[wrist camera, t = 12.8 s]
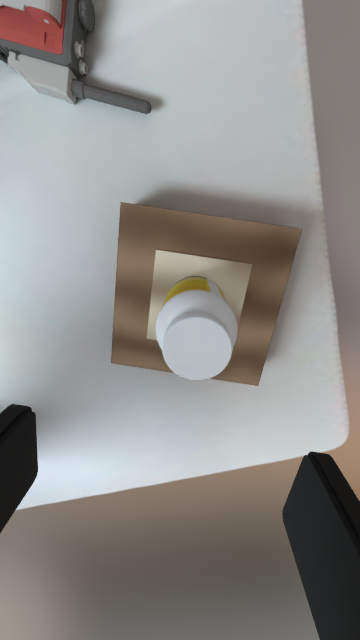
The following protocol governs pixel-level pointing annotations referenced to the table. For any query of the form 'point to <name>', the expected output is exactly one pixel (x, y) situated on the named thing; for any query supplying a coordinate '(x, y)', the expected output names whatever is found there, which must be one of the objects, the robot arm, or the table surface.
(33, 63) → the walkie-talkie
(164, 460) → the table surface
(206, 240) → the stand
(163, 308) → the pill bottle
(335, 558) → the robot arm
